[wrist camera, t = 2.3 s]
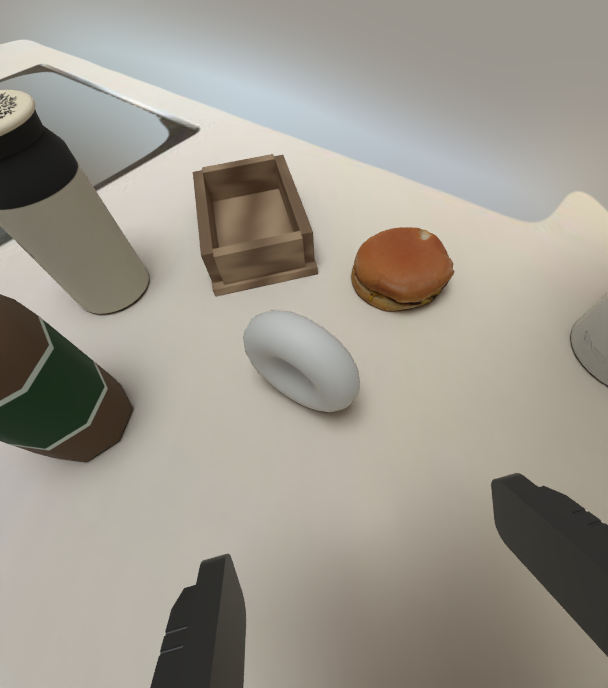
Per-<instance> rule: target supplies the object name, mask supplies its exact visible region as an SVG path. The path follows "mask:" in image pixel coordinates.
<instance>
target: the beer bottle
mask: <svg viewBox="0 0 608 688" xmlns="http://www.w3.org/2000/svg"><path fill="white" fill-rule="evenodd" d="M131 412H132V407H131V405H130V403H129V401H128V398H127V396H126V394H125V392H124V390H123V388H122V386H121V385H120V384H119V383H118V382H117V381H116V380H115V379H114V378H113V377H112V376H111V375H110V374H109V373H108V372H106V371H105V370H104V369H103V368H101V367H100V366H99V365H98V364H97V363H95V362H94V361H93V360H92V359H90V358H89V357H88V356H87V355H86V354H84V353H83V352H82V351H81V350H79V349H78V348H77V347H76V346H75V345H73V344H72V343H71V342H70V341H68V340H67V339H66V338H65V337H64V336H62V335H61V334H60V333H59V332H57V331H56V330H55V329H54V328H53V327H51V326H50V325H49V324H48V323H46V322H45V321H44V320H43V319H42V318H40V317H39V316H38V315H36V314H35V313H33V312H32V311H31V310H29V309H28V308H26V307H25V306H23V305H22V304H20V303H19V302H17V301H16V300H14V299H12V298H9V297H6V296H3V295H1V294H0V441H1V442H4V443H7V444H10V445H13V446H16V447H19V448H22V449H25V450H28V451H31V452H34V453H37V454H41V455H45V456H48V457H52V458H59V459H66V460H73V461H80V462H87V461H89V460H90V459H92V458H93V457H95V456H96V455H98V454H99V453H101V452H103V451H104V450H106V449H107V448H109V447H110V446H112V445H113V444H115V443H116V442H118V441H119V440H120V438H121V435H122V433H123V431H124V428H125V426H126V424H127V421H128V419H129V417H130V414H131Z"/></svg>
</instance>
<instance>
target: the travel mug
mask: <svg viewBox="0 0 608 688" xmlns="http://www.w3.org/2000/svg"><path fill="white" fill-rule="evenodd" d="M0 226H1V227H2V228H3V229H4V230H5V231H6V232H7V233H8V234H9V235H10V236H11V237H12V238H13V239H14V240H15V241H16V242H17V243H18V244H19V245H20V246H21V247H22V248H23V249H24V250H25V251H26V252H27V253H28V254H29V255H30V256H31V257H32V258H33V259H34V260H35V261H36V262H37V263H38V264H39V265H40V266H41V267H42V268H43V269H44V270H45V271H46V272H47V273H48V274H49V275H50V276H51V277H52V278H53V279H54V280H55V281H56V282H57V283H58V284H59V285H60V286H61V287H62V288H63V289H64V290H65V291H66V292H67V293H68V294H69V295H70V296H71V297H72V298H73V299H74V300H75V301H76V302H77V303H78V304H79V305H80V306H81V307H82V308H83V309H85V310H86V311H89V312H92V313H97V314H104V313H111V312H115V311H118V310H120V309H123V308H125V307H127V306H128V305H130V304H132V303H133V302H134V301H136V300H137V299H138V298H139V297H140V296H141V295H142V293H143V292H144V291H145V289H146V287H147V285H148V281H149V275H148V272H147V270H146V268H145V267H144V265H143V264H142V262H141V260H140V259H139V257H138V256H137V254H136V253H135V251H134V250H133V248H132V246H131V245H130V243H129V242H128V240H127V239H126V237H125V236H124V234H123V232H122V231H121V229H120V228H119V226H118V225H117V223H116V222H115V220H114V218H113V217H112V215H111V214H110V212H109V211H108V209H107V207H106V206H105V204H104V203H103V201H102V200H101V198H100V197H99V195H98V193H97V192H96V190H95V189H94V187H93V186H92V184H91V183H90V181H89V180H88V178H87V176H86V175H85V173H84V172H83V170H82V168H81V167H80V165H79V164H78V162H77V161H76V159H75V158H74V156H73V155H72V153H71V152H70V150H69V149H68V147H67V145H66V144H65V142H64V141H63V140H62V139H61V138H60V137H58V136H57V135H55V134H54V133H53V132H51V131H50V130H48V129H47V128H46V127H44V126H43V125H42V123H41V121H40V119H39V117H38V115H37V113H36V110H35V102H34V100H33V99H32V97H31V96H29V95H28V94H26V93H24V92H21V91H15V90H0Z"/></svg>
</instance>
